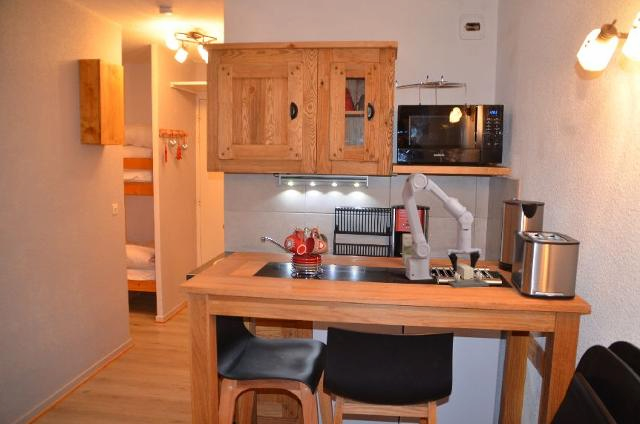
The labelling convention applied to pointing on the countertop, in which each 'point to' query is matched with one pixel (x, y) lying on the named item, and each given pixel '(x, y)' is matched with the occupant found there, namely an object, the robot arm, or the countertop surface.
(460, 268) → the beige rectangular block
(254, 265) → the countertop surface
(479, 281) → the peg stand
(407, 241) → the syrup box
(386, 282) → the countertop surface
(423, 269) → the robot arm
